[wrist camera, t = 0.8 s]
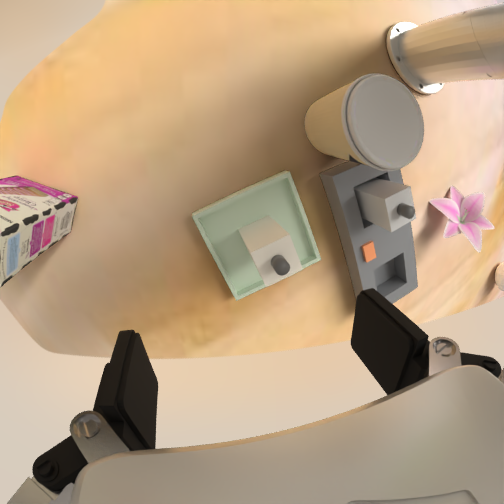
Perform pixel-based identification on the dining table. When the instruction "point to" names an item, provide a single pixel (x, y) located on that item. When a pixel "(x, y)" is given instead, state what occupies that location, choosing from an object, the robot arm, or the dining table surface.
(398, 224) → the grey twin plug
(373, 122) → the coffee cup
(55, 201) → the candy bar box
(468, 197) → the lily
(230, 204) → the sage tray
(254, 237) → the cream plug
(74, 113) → the dining table surface
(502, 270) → the geometric ball
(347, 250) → the power strip
